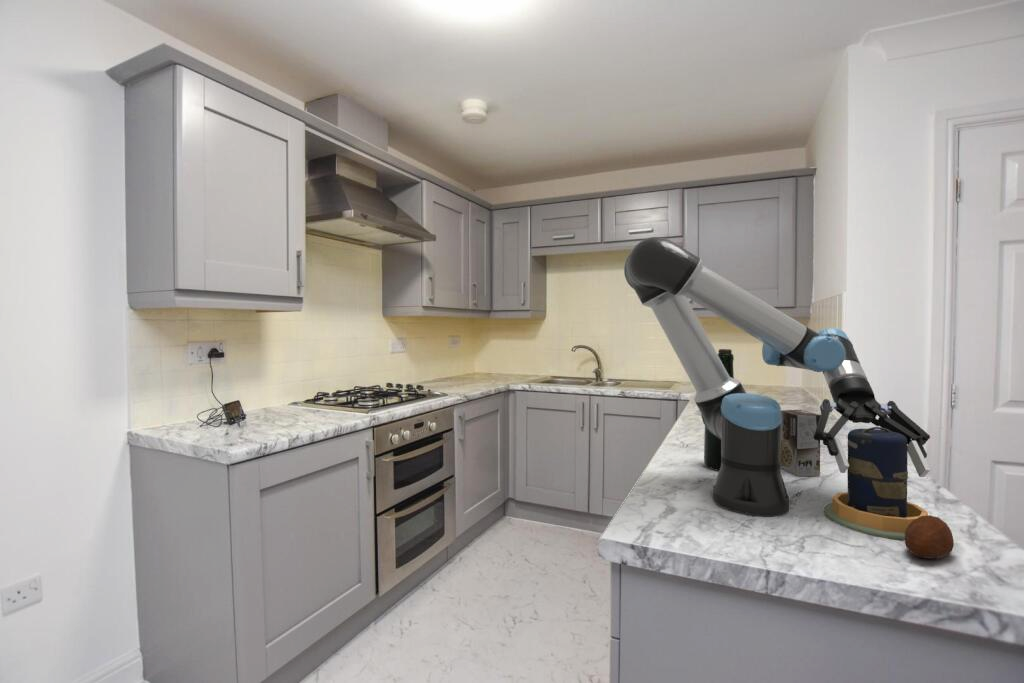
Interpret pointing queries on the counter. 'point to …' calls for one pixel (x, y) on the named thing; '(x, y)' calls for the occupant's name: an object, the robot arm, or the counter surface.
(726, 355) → the dark wine bottle
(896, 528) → the green orange round dish
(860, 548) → the counter surface
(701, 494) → the counter surface
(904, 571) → the counter surface
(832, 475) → the counter surface
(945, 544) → the potato
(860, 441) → the canister
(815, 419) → the coffee box
